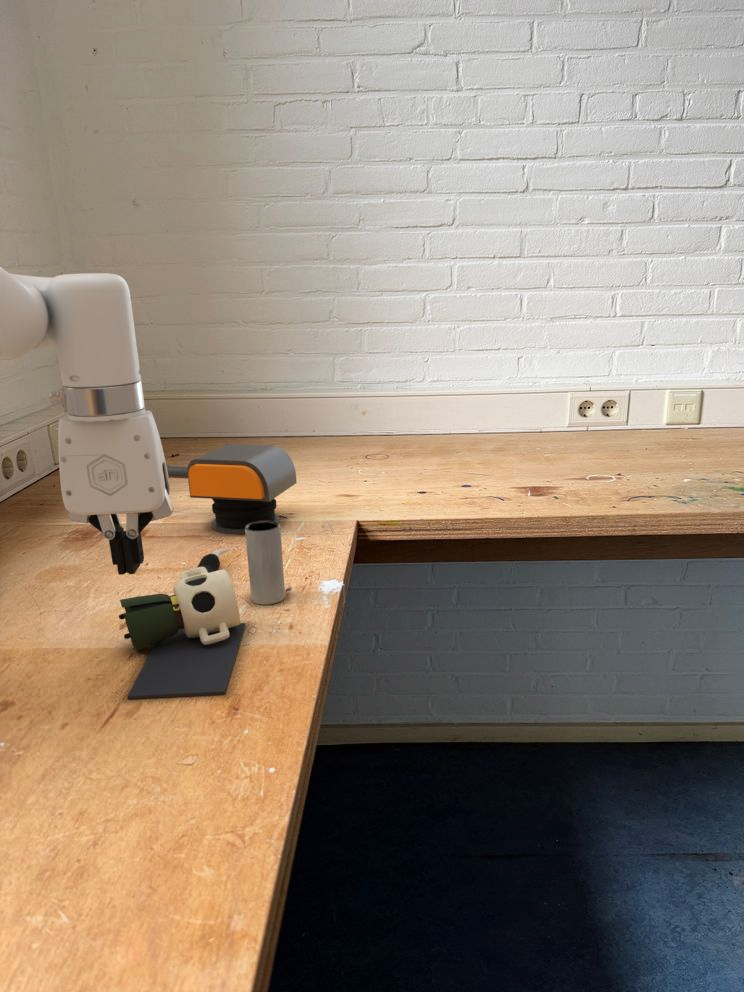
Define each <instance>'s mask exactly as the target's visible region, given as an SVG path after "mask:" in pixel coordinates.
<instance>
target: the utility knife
mask: <svg viewBox="0 0 744 992" xmlns="http://www.w3.org/2000/svg"><path fill="white" fill-rule="evenodd" d="M232 550H234V548H221V549H220V548H219V549H217V550H214V551H212V552H211V553H207V554H205V555H204V556H203V557H202V558H201V559H200V561H199V563H198V565H197V566H196V568H198V567H205V568H206V569H207V571H208V573H211V572H214V571H218V570H220V566H221V562H220V557H221V556H222V555H223V554H225V553H226V552H230V551H232Z"/></svg>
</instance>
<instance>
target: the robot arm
mask: <svg viewBox="0 0 744 992" xmlns="http://www.w3.org/2000/svg"><path fill="white" fill-rule="evenodd" d="M131 297H132V296H131V292H130V287H129V285H128V282H127V281H126V280H125V278H124V277H122V275H119V274H117V273H108V272H107V273H106V272H92V273H91V272H90V273H87V272H86V273H67V274H59V275H56V276H54V277H51V276H49V277H48V276H33V275H24V274H18V273H17V274H16V273H10V272H9V271H6V270H5V269H4V268H3V267H1V266H0V361H11V360H16V359H19V358H21V357H23V356H25V355H28V354H29V353H30V352H33V351H35V350H39V349H44V348H50V347H51V348H52V347H55V349H56V355H57V360H58V366H59V373H60V378H61V383H62V384H61V386H60V389H58V390H57V391H56V390H55V391H50V393H49V400H50V403H51V404H52V406H60V407H63V410H64V413H66V415H64V416H62V417H59V419H58V431H57V433H58V434H57V449H58V450H57V451H58V453H57V454H58V469H59V470H58V471H59V481H60V490H61V497H62V502H63V506H64V507H65V510H66V511H67V512H68V513H67V514H68V515H67V517H68V519H69V520H70V521H72V522H76V523H83V524H90V525H92V527H94V528H95V529H96V530H98V531H99V532H100V533H102V535H103V537H104V539H106V540H108V544H109V551H110V556H111V562H112V565H113V566H116V567H117V573H118V575H119V576H120V575H125V574H128V575H135V574H136V572H137V571H138V570H139V568H140V566H141V565H142V564H143V563H144V561H145V554H144V546H143V540H142V532H143V530H144V529H146V527H147V526H148V525H149V524H150V523H151V522H153V521H158V520H162V519H165V518H168V517H170V516H171V515H172V514H173V513H174V511H175V510H174V506H173V503H172V501H171V498H170V492H171V490H170V487H171V486H170V478H168V472H167V466H166V464H167V462H166V457H165V453H164V448H163V444H162V440H161V437H160V432H159V430H158V427H157V423H156V420H155V417H154V415H153V412H152V411H151V410H146V405H145V398H144V397H145V396H144V389H143V382H142V375H141V374H142V373H141V366H140V359H139V353H138V344H137V337H136V328H135V320H134V313H133V305H132V299H131ZM121 514H126V516H125V517H126V520H125V521H126V522H125V523H126V525H125V527H126V529H125V530H124V527H123V526H122V521H121V519H120V516H119V515H121Z"/></svg>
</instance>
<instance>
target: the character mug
mask: <svg viewBox="0 0 744 992" xmlns="http://www.w3.org/2000/svg"><path fill="white" fill-rule="evenodd" d="M197 567H198V566H197ZM197 567H194V568H191V569H187V570H184V571H181V573H180V574H179V578H180V580H178V581H177V582H175V583H174V584H173V594H170V595H169V594H166V593H155V594H147V595H139V596H134V597H133V596H132V597H128V598H121V599H119V602H120V606H121V608H122V609H123V608H124V611H125V612H124V613H120V614H119V615H118V619H119V620H125V624H126V628H127V631H128V633H125V634H124V635H123V638H124V639H125V640H129V639H130V641H131V642H130V643H131V645H132V647H133V650H134V651H135V652H138V651H141V650H143V649H146V648H148V647H151V646H154V644H156V643H158V642H161V641H163V640H165V639H168V638H170V637H172V636H174V635H175V634H176V633H177V632H178V630H179V629H182V628H183V629H184V632H185V634H186V636H187V637H188V638H196V637H199V636H200V639H201V642H202V643H203V644H204V645H208V644H212V643H215V642H219V641H222V640H225V639H227V638H228V637H229V631H228V628H230V627H234V626H237V625H239V624H240V623H241V617H240V610H239V605H238V600H237V597H236V592H235V589H234V586H233V583H232V579H231V578H230V575H229V574H228V571H227V570H226V569H218V571H214V572H211V573H208V571H207V569H206V568H205V567H198V568H197ZM217 631H220V633H217V634H213V635H210V636H208V634H210V633H213V632H217Z"/></svg>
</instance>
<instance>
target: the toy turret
mask: <svg viewBox="0 0 744 992" xmlns="http://www.w3.org/2000/svg"><path fill="white" fill-rule="evenodd" d="M166 466H167V472H168V478H169V479H187V482H188V490H189V498H191V499H207V500H209V499H211V500H212V501H213V503H212V504H211V509H212V510H211V511H212V513H213V514H214V518H215V519H213V520H212V521H211V523H210V527H211V529H212V530H213V531H215V532H217V533H221V534H227V535H228V534H229V535H245V526H246V525H247V524H249V523H252V522H256V521H275V522H278V523H279V524H280V525H281V517H280V516H279V515H278V514H276V509H277V508H278V507H277V499H276V498H277V497H278V496H280V495H282V494H283V493H285V492H286V491H287V490H289V489H290V488H291V487H293V486H294V485H296V484H297V471H296V467H295V464H294V461H293V459H292V458H291V457H290V455H289V453H288V452H287V451H286V450H285V449H283V448H282V447H280V446H277V445H270V444H268V445H267V444H242V443H241V444H239V443H238V444H237V443H235V444H234V443H227V444H224V445H222V446H220V447H217V448H216V449H213V450H211V451H209V452H207V453H205V454H202V455H199V456H198V457H196V458H194V459H192V460H190V461H189V463H188V465H187V466H186V465H185V466H183V465H181V466H180V465H170V464H167V463H166Z"/></svg>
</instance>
